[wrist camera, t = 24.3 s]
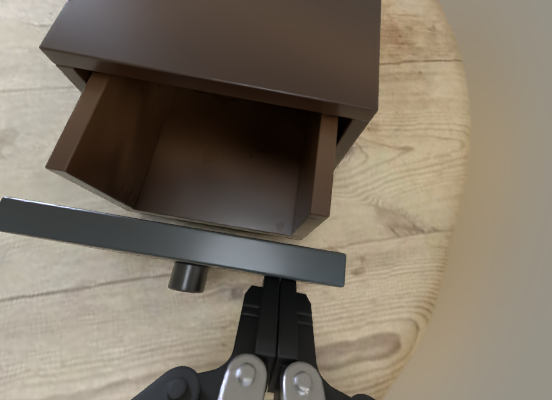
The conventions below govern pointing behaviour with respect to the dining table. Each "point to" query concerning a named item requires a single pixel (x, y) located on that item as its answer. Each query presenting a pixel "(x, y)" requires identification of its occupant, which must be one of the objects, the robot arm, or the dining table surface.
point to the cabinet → (233, 51)
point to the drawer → (192, 181)
